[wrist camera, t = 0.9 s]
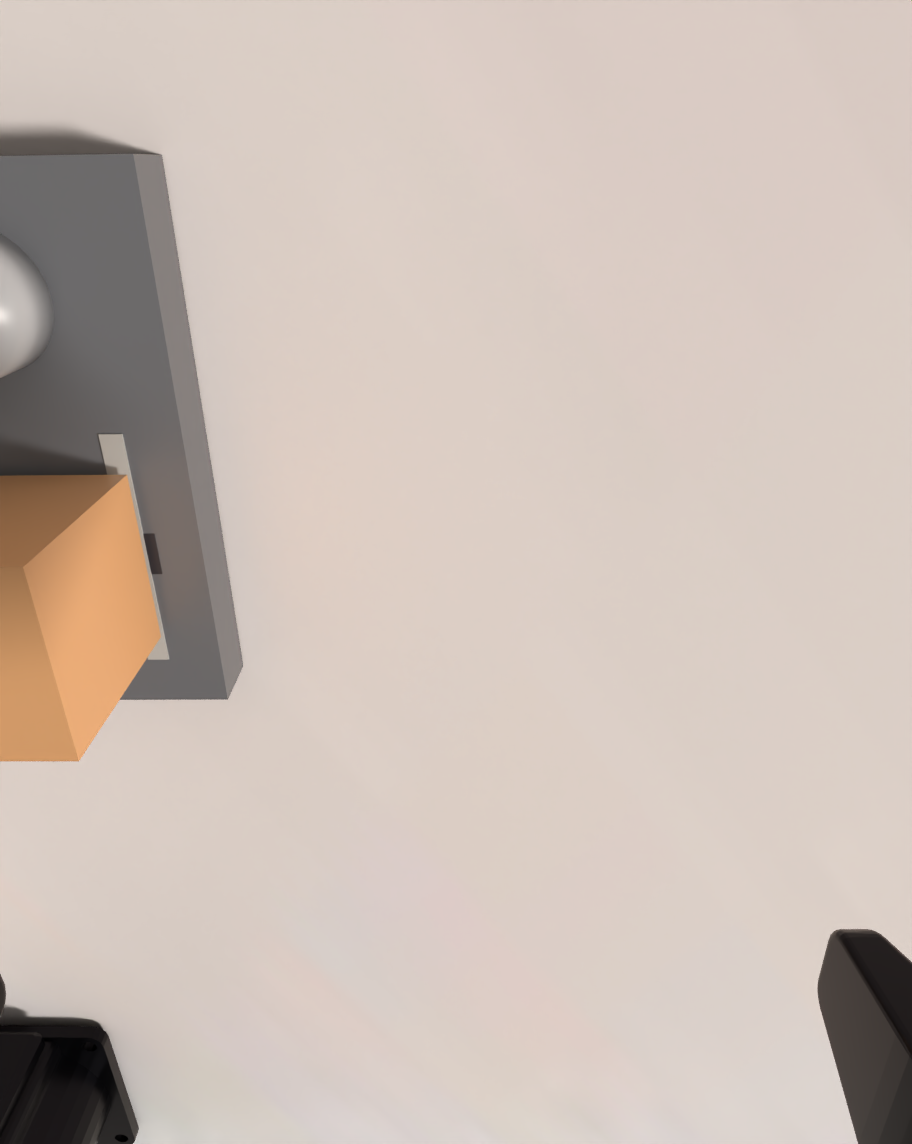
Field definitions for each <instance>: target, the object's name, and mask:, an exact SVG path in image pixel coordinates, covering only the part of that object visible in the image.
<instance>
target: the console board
mask: <svg viewBox="0 0 912 1144" xmlns="http://www.w3.org/2000/svg"><path fill="white" fill-rule="evenodd" d="M17 475H127V477H128V481H129V486H130V491H131V496H132V500H133V505H134V510H135V515H136V519H137V524H138V529H139V534H140V538H141V543H142V548H143V553H144V557H145V562H146V567H147V572H148V577H149V581H150V586H151V591H152V596H153V600H154V605H155V610H156V615H157V619H158V624H159V629H160V634H161V638H160V639H159V641H158V642H157V644H156V645H155V647H154V648H153V650H152V651H151V653H150V654H149V656H148V657H147V659H146V660H145V662H144V663H143V665H142V666H141V668H140V670H139V671H138V673H137V674H136V676H135V677H134V679H133V680H132V682H131V683H130V685H129V686H128V688H127V689H126V691H125V692H124V694H123V695H122V697H121V698H120V700H166V699H228V698H229V696H230V694H231V691H232V689H233V687H234V685H235V683H236V680H237V678H238V676H239V674H240V672H241V670H242V667H243V662H242V655H241V649H240V643H239V636H238V630H237V624H236V618H235V611H234V605H233V599H232V592H231V586H230V580H229V574H228V567H227V561H226V555H225V548H224V542H223V536H222V530H221V523H220V517H219V511H218V504H217V498H216V492H215V486H214V479H213V473H212V467H211V461H210V454H209V448H208V442H207V435H206V429H205V423H204V417H203V410H202V404H201V398H200V391H199V385H198V379H197V373H196V366H195V360H194V354H193V347H192V341H191V335H190V329H189V322H188V316H187V310H186V304H185V297H184V291H183V285H182V278H181V272H180V266H179V260H178V253H177V247H176V241H175V234H174V228H173V222H172V216H171V209H170V203H169V197H168V190H167V184H166V178H165V172H164V165H163V159H162V155H153V154H80V155H20V156H0V476H17Z"/></svg>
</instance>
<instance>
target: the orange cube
mask: <svg viewBox="0 0 912 1144" xmlns="http://www.w3.org/2000/svg"><path fill="white" fill-rule="evenodd" d="M160 638H161V634H160V629H159V624H158V619H157V615H156V610H155V605H154V600H153V596H152V591H151V586H150V581H149V577H148V572H147V567H146V562H145V557H144V553H143V548H142V543H141V538H140V534H139V529H138V524H137V519H136V515H135V510H134V505H133V500H132V496H131V491H130V486H129V481H128V477H127V475H17V476H0V761H79V760H80V759H81V757H82V756H83V754H84V753H85V751H86V750H87V748H88V747H89V745H90V744H91V742H92V741H93V739H94V738H95V736H96V735H97V733H98V731H99V730H100V728H101V727H102V725H103V724H104V722H105V721H106V719H107V718H108V716H109V715H110V713H111V712H112V710H113V709H114V707H115V706H116V704H117V703H118V701H119V700H120V698H121V697H122V695H123V694H124V692H125V691H126V689H127V688H128V686H129V685H130V683H131V682H132V680H133V679H134V677H135V676H136V674H137V673H138V671H139V670H140V668H141V666H142V665H143V663H144V662H145V660H146V659H147V657H148V656H149V654H150V653H151V651H152V650H153V648H154V647H155V645H156V644H157V642H158V641H159V639H160Z"/></svg>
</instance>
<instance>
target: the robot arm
mask: <svg viewBox="0 0 912 1144" xmlns="http://www.w3.org/2000/svg"><path fill="white" fill-rule="evenodd" d="M5 999H6V991H5V984H4V981H3V979H2V977H1V974H0V1018H1V1016H2V1013H3V1009H4V1005H5ZM818 999H819V1004H820V1009H821V1012H822V1016H823V1019H824V1023H825V1027H826V1030H827V1034H828V1037H829V1041H830V1044H831V1048H832V1052H833V1055H834V1059H835V1062H836V1066H837V1070H838V1073H839V1077H840V1080H841V1084H842V1087H843V1091H844V1095H845V1098H846V1102H847V1105H848V1109H849V1113H850V1116H851V1120H852V1123H853V1127H854V1130H855V1134H856V1138H857V1141H858V1144H912V962H911V961H910V960H909V959H908V958H907V957H906V956H904V955H903V954H902V953H901V952H900V951H899V950H898V949H897V948H896V947H895V946H893V945H892V944H891V943H890V942H889V941H888V940H887V939H886V938H885V937H883V936H882V935H881V934H879V933H877V932H876V931H873V930H869V929H839V930H835V931H834V932H833V933H832V934H831V935H830V938H829V941H828V945H827V948H826V952H825V956H824V960H823V964H822V968H821V972H820V975H819V980H818ZM138 1130H139V1127H138V1124H137V1121H136V1118H135V1115H134V1112H133V1109H132V1106H131V1103H130V1100H129V1097H128V1094H127V1091H126V1088H125V1085H124V1082H123V1079H122V1076H121V1072H120V1069H119V1066H118V1063H117V1060H116V1057H115V1054H114V1051H113V1048H112V1045H111V1042H110V1039H109V1036H108V1034H107V1033H106V1032H105V1031H104V1030H102V1029H100V1028H97V1027H90V1026H0V1144H133V1143H134V1141H135V1139H136V1136H137V1133H138Z"/></svg>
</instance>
